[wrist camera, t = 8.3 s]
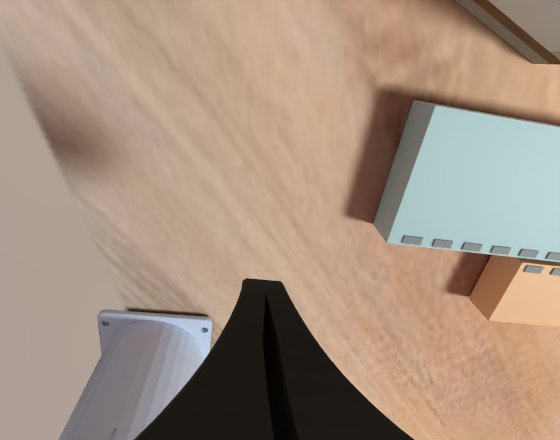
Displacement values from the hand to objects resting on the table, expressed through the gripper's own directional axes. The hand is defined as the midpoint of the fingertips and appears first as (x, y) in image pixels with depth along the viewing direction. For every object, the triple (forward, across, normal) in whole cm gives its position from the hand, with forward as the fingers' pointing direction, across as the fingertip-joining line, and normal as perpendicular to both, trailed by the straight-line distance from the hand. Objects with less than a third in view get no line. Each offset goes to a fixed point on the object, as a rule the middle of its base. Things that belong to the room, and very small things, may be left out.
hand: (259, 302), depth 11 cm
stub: (+10, -22, +4) cm, 25 cm away
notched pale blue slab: (+10, -14, -3) cm, 18 cm away
